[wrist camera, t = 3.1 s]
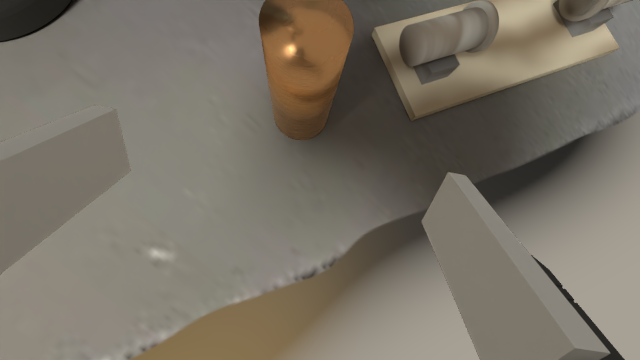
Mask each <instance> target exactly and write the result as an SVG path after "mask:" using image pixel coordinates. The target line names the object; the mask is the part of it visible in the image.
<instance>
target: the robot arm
mask: <svg viewBox="0 0 640 360" xmlns="http://www.w3.org/2000/svg"><path fill="white" fill-rule="evenodd" d="M70 1H71V0H0V41H4V40H8V39H12V38H16V37H19V36H22V35H25V34H27V33H30V32H32V31H34V30H36V29H38V28H40V27H42V26H43V25H45V24H47V23H48V22H50V21H51V20H52V19H54V18H55V17H56V16H57V15H59V14H60V13H61V12H62V11H63V10H64V9H65V8H66V6H67V5H68V4H69V3H70ZM130 171H131V168H130V164H129V160H128V156H127V152H126V148H125V144H124V139H123V135H122V131H121V127H120V123H119V119H118V115H117V111H116V109H114V108H108V107H103V106H98V105H93V106H91V107H88V108H86V109H83V110H80V111H78V112H75V113H73V114H70V115H68V116H65V117H63V118H60V119H58V120H55V121H52V122H50V123H47V124H45V125H42V126H40V127H37V128H35V129H32V130H30V131H27V132H24V133H22V134H19V135H17V136H14V137H12V138H9V139H7V140H4V141H1V142H0V274H1V273H3V272H4V271H5V270H6V269H8V268H9V267H10V266H11V265H13V264H14V263H15V262H16V261H18V260H19V259H20V258H21V257H23V256H24V255H25V254H27V253H28V252H29V251H30V250H32V249H33V248H34V247H35V246H37V245H38V244H39V243H40V242H42V241H43V240H44V239H46V238H47V237H48V236H49V235H51V234H52V233H53V232H54V231H56V230H57V229H58V228H59V227H61V226H62V225H63V224H64V223H66V222H67V221H68V220H70V219H71V218H72V217H73V216H75V215H76V214H77V213H78V212H80V211H81V210H82V209H83V208H85V207H86V206H87V205H88V204H90V203H91V202H92V201H94V200H95V199H96V198H97V197H99V196H100V195H101V194H102V193H104V192H105V191H106V190H107V189H109V188H110V187H111V186H113V185H114V184H115V183H116V182H118V181H119V180H120V179H121V178H123V177H124V176H125V175H126V174H128V173H129V172H130ZM422 224H423V226H424V229H425V231H426V234H427V236H428V238H429V241H430V243H431V245H432V248H433V250H434V252H435V255H436V257H437V259H438V262H439V264H440V267H441V269H442V271H443V274H444V276H445V278H446V281H447V283H448V285H449V288H450V290H451V292H452V295H453V297H454V300H455V302H456V304H457V307H458V309H459V311H460V314H461V316H462V318H463V321H464V323H465V326H466V328H467V330H468V332H469V335H470V337H471V339H472V342H473V344H474V347H475V349H476V352H477V354H478V356H479V359H480V360H625V359H624V358H623V357H622V356H621V355H620V354H619V353H618V351H617V350H616V349H615V348H614V347H613V345H612V344H611V343H610V342H609V341H608V339H607V338H606V337H605V336H604V335H603V334H602V332H601V331H600V330H599V329H598V327H597V326H596V325H595V324H594V323H593V322H592V320H591V319H590V318H589V317H588V316H587V314H586V313H585V312H584V311H583V310H582V308H581V307H580V306H579V305H578V304H577V303H574V299H573V298H572V296H571V295H570V294H569V293H568V292H567V291H566V289H563V288H562V285H561V283H560V282H559V281H558V280H557V279H556V277H555V276H554V275H553V274H552V273H551V271H550V270H549V269H548V268H546V267H545V266H544V265H543V264H542V263H540V262H539V261H538V260H537V259H535V258H534V257H533V256H532V255H530V254H529V252H528V251H527V250H526V249H525V247H524V246H523V245H522V244H521V243H520V241H519V240H518V239H517V238H516V236H515V235H514V234H513V233H512V232H511V230H510V229H509V228H508V227H507V225H506V224H505V223H504V222H503V221H502V219H501V218H500V217H499V216H498V215H497V213H496V212H495V211H494V209H493V208H492V207H491V206H490V204H489V203H488V202H487V201H486V200H485V198H484V197H483V196H482V195H481V193H480V192H479V191H478V190H477V189H476V187H475V186H474V185H473V184H472V182H471V181H470V180H469V179H468V177H467V176H466V175H461V174H456V173H451V172H448V173H447V175H446V177H445V179H444V181H443V182H442V184H441V186H440V188H439V190H438V192H437V194H436V195H435V197H434V199H433V201H432V203H431V205H430V206H429V208H428V210H427V212H426V214H425V216H424V218H423V219H422Z"/></svg>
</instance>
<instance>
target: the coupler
mask: <svg viewBox="0 0 640 360" xmlns="http://www.w3.org/2000/svg"><path fill="white" fill-rule="evenodd" d="M259 27H260V33H261V39H262V46H263V52H264V58H265V64H266V71H267V77H268V83H269V89H270V95H271V102H272V108H273V114H274V120H275V123H276V125H277V127H278V128H279V130H280V131H281V132H282V133H283V134H285V135H286V136H288V137H290V138H292V139H297V140H306V139H310V138H313V137H315V136H316V135H318V134H319V133H320V132H321V131H322V130H323V128H324V127H325V124H326V121H327V118H328V115H329V112H330V109H331V105H332V102H333V99H334V96H335V92H336V89H337V86H338V83H339V80H340V76H341V73H342V70H343V67H344V63H345V60H346V57H347V54H348V51H349V47H350V44H351V41H352V37H353V33H354V23H353V18H352V15H351V12H350V10H349V9H348V7H347V5H346V4H345V3H344V2H343V0H266V1H265V2H264V4H263V6H262V8H261V11H260V15H259Z"/></svg>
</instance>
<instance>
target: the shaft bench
mask: <svg viewBox="0 0 640 360" xmlns="http://www.w3.org/2000/svg"><path fill="white" fill-rule="evenodd" d="M629 1H632V0H477V1H473V2H469V3H466V4H462V5H458V6H454V7H450V8H447V9H443V10H439V11H435V12H432V13H428V14H424V15H420V16H416V17H413V18H409V19H405V20H401V21H398V22H394V23H390V24H386V25H382V26H379V27H375V28H374V30H373V33H372V37H373V39H374V41H375V43H376V46H377V48H378V50H379V52H380V54H381V57H382V59H383V61H384V63H385V65H386V68H387V70H388V72H389V74H390V76H391V79H392V81H393V83H394V85H395V87H396V89H397V92H398V94H399V96H400V98H401V100H402V103H403V105H404V107H405V109H406V111H407V114H408V116H409V118H410V120H411V121H412V120H415V119H418V118H421V117H424V116H427V115H430V114H433V113H436V112H439V111H442V110H445V109H448V108H451V107H454V106H456V105H459V104H462V103H465V102H468V101H471V100H474V99H477V98H480V97H483V96H486V95H489V94H492V93H495V92H498V91H501V90H504V89H507V88H510V87H512V86H515V85H518V84H521V83H524V82H527V81H530V80H533V79H536V78H539V77H542V76H545V75H548V74H551V73H554V72H557V71H560V70H563V69H566V68H569V67H571V66H574V65H577V64H580V63H583V62H586V61H589V60H592V59H595V58H598V57H601V56H604V55H607V54H609V53H611V52H613V51H615V50H617V49H618V48H619V46H618V44H617V43H616V41H615V40H614V38H613V36H612V35H611V33H610V31H609V30H608V28H607V27H606V25H605V23H606V22H607V21H609V20H610V19H612V18H613V15H612V14H611V12H610V10H609V9H608V8H609V7H612V6H616V5H619V4H622V3H626V2H629Z"/></svg>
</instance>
